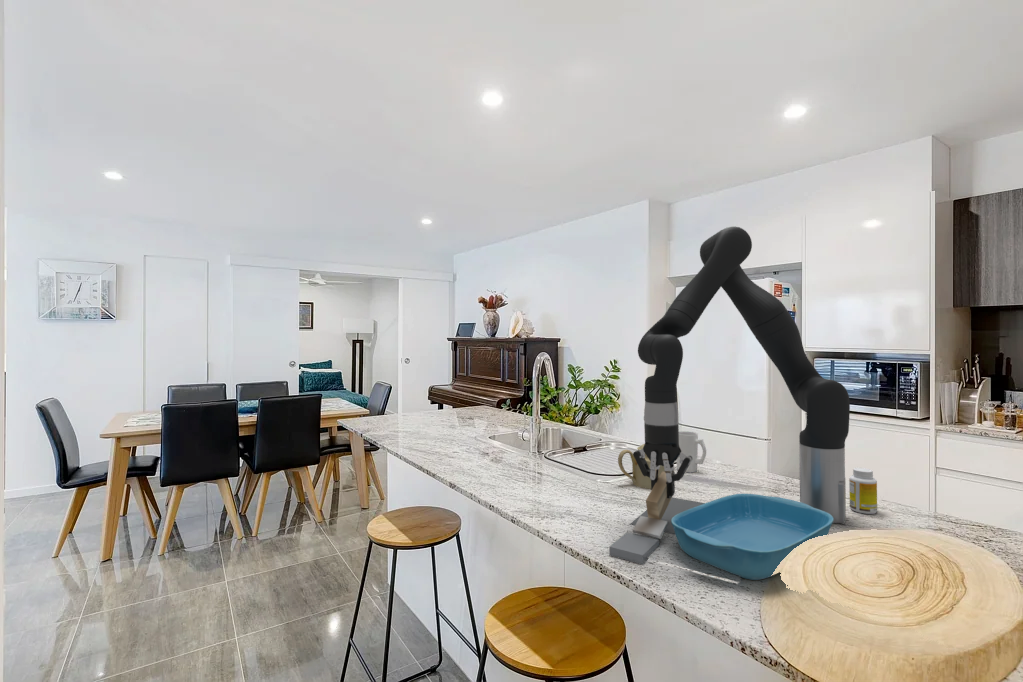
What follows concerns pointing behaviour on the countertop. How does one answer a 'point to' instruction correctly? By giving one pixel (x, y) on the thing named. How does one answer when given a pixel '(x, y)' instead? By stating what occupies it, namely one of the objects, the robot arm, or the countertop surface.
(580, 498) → the countertop surface
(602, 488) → the countertop surface
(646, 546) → the tile
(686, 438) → the mug
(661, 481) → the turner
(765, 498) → the casserole dish
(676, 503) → the mat
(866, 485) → the supplement bottle
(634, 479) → the beige teapot
